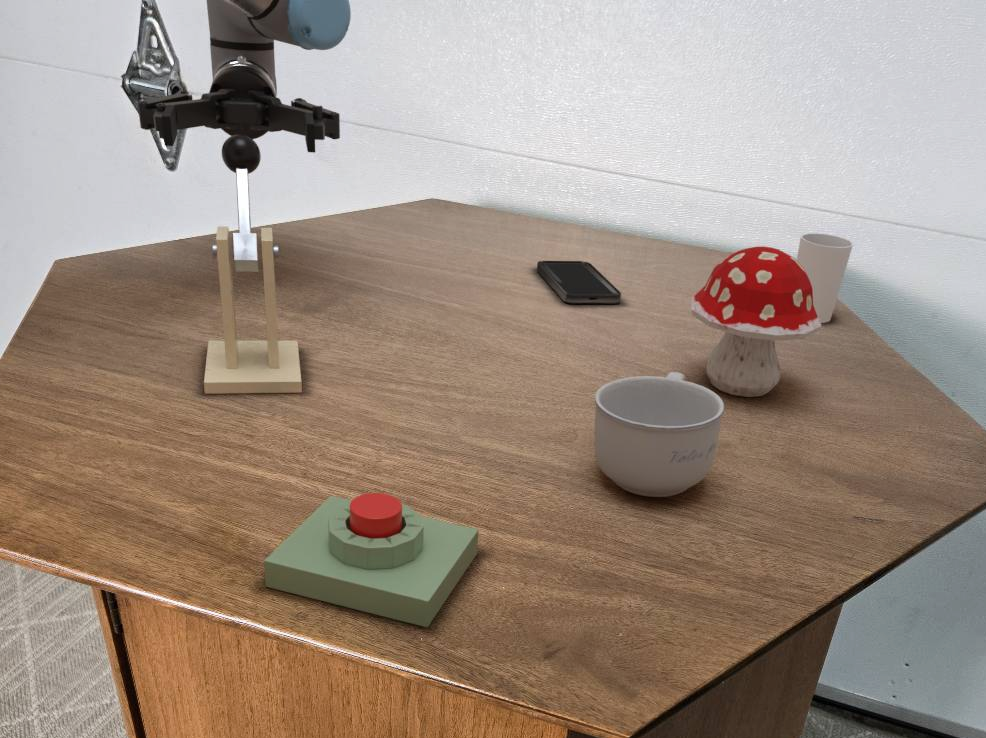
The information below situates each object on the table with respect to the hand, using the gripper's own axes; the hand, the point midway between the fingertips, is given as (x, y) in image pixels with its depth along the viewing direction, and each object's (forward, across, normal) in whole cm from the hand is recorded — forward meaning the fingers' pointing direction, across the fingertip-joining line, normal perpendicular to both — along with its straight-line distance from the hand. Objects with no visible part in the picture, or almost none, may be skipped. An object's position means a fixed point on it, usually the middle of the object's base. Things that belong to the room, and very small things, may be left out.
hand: (240, 134), depth 97 cm
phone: (-19, +42, +21) cm, 50 cm away
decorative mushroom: (+16, +51, +21) cm, 57 cm away
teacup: (+35, +35, +21) cm, 53 cm away
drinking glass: (-8, +71, +21) cm, 75 cm away
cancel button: (+48, +9, +17) cm, 51 cm away
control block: (+48, +9, +21) cm, 53 cm away
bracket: (+10, 0, +21) cm, 23 cm away
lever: (+6, 0, +6) cm, 8 cm away
